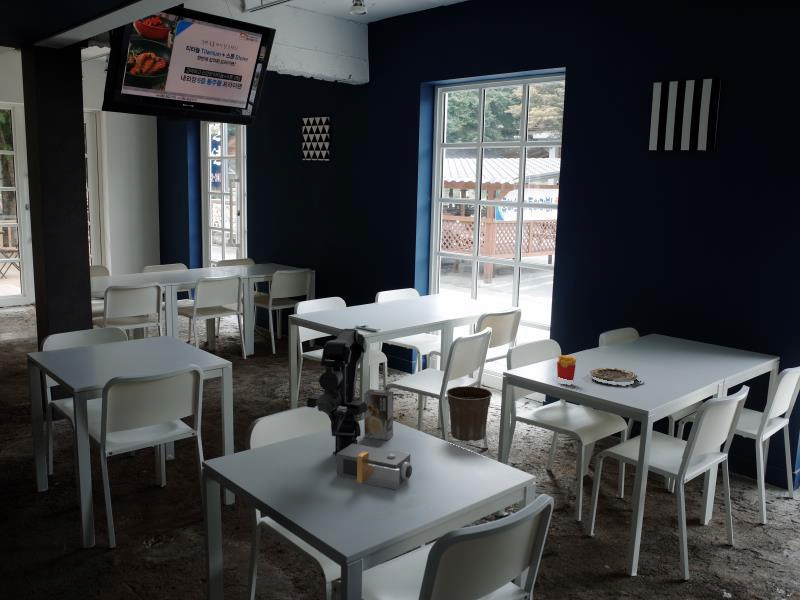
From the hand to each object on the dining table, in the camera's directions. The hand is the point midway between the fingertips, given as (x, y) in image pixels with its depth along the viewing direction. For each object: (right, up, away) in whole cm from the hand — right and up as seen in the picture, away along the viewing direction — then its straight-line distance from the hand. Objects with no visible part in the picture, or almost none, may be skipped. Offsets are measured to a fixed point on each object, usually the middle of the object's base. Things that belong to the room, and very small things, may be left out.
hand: (336, 431), depth 220 cm
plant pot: (+44, -8, +34) cm, 56 cm away
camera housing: (+12, -13, -4) cm, 18 cm away
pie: (+120, +2, +115) cm, 166 cm away
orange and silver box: (+13, -14, -14) cm, 24 cm away
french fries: (+96, +2, +108) cm, 145 cm away
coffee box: (+12, -8, +32) cm, 35 cm away
